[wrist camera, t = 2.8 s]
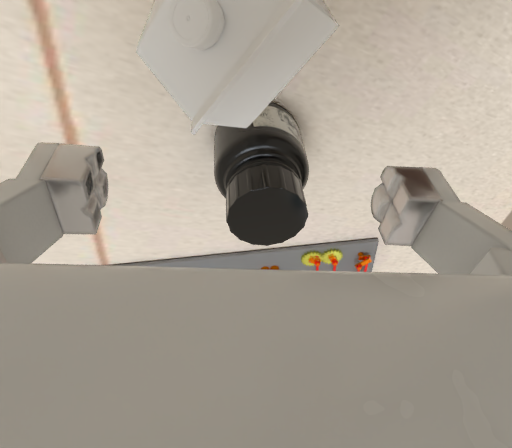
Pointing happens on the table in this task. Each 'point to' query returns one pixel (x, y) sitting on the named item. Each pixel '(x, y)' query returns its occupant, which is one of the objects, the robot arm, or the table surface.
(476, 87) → the table surface
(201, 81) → the milk carton
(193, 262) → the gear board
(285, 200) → the ink bottle
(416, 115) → the table surface
